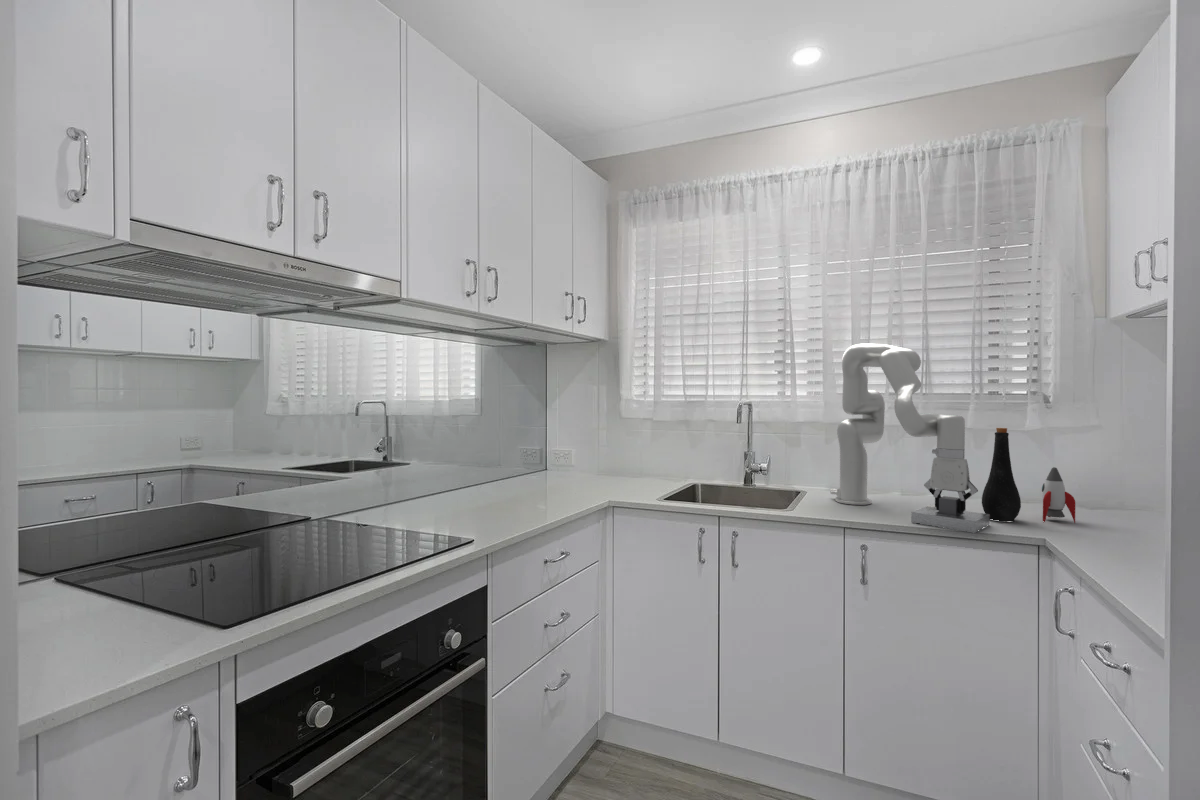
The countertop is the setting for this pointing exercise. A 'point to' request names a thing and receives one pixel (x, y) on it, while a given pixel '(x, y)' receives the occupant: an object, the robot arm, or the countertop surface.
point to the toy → (1056, 496)
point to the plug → (949, 505)
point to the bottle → (1001, 483)
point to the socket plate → (950, 519)
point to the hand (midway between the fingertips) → (949, 510)
